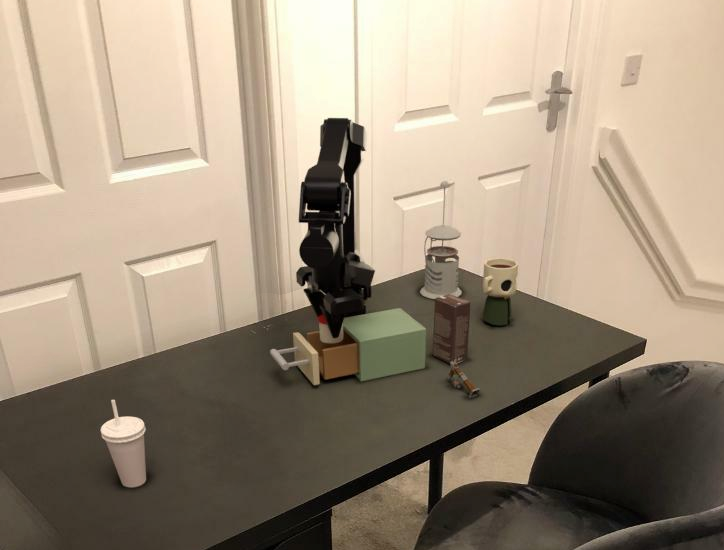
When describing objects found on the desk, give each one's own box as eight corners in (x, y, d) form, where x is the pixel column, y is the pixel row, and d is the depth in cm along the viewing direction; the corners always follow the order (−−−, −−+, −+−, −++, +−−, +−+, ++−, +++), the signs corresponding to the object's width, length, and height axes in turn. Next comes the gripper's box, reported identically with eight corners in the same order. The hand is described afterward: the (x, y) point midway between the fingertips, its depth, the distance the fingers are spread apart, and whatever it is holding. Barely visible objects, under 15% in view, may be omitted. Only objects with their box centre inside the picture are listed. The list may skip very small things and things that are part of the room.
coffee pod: (313, 339, 154) (311, 319, 151) (331, 331, 157) (330, 311, 155) (332, 346, 151) (331, 325, 149) (350, 337, 154) (349, 317, 152)
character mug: (495, 334, 173) (499, 273, 165) (468, 325, 177) (471, 265, 169) (524, 318, 179) (530, 260, 172) (498, 310, 183) (502, 253, 176)
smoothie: (116, 470, 130) (98, 391, 122) (158, 468, 130) (142, 389, 122) (109, 493, 124) (89, 411, 116) (152, 491, 125) (135, 409, 117)
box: (468, 359, 162) (471, 301, 156) (451, 366, 160) (454, 307, 153) (447, 349, 166) (450, 292, 159) (431, 355, 164) (432, 298, 157)
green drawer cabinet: (360, 381, 155) (360, 341, 150) (338, 357, 163) (336, 319, 159) (425, 368, 159) (426, 329, 155) (399, 345, 168) (399, 307, 163)
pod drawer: (286, 391, 150) (284, 359, 146) (268, 368, 158) (266, 337, 154) (375, 372, 156) (375, 341, 152) (354, 351, 164) (353, 321, 160)
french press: (433, 302, 187) (436, 189, 173) (408, 286, 196) (410, 177, 182) (469, 295, 191) (476, 183, 177) (444, 279, 200) (448, 172, 185)
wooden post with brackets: (448, 374, 155) (456, 357, 151) (472, 404, 152) (480, 388, 148) (441, 376, 154) (448, 360, 150) (465, 407, 151) (473, 390, 147)
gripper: (390, 259, 140) (390, 343, 149) (348, 229, 154) (351, 308, 163) (330, 268, 136) (333, 355, 145) (292, 237, 150) (298, 317, 159)
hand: (330, 332), depth 153 cm, fingers closed on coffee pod, 4 cm apart
